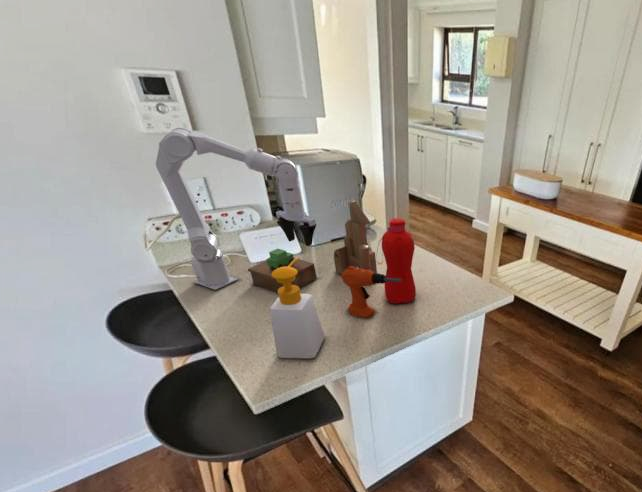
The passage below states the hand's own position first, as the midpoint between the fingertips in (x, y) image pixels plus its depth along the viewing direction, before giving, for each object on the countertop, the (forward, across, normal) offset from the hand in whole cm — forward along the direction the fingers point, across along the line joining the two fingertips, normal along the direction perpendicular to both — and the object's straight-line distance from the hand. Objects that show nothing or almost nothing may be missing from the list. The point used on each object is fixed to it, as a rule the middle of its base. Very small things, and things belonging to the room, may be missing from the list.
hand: (300, 242), depth 121 cm
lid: (+6, 0, +9) cm, 11 cm away
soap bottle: (+11, -30, +31) cm, 44 cm away
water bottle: (+11, -38, 0) cm, 39 cm away
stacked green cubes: (+5, 0, +9) cm, 10 cm away
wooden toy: (+11, -18, -6) cm, 21 cm away
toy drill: (+11, -38, +12) cm, 41 cm away
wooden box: (+10, 0, +9) cm, 14 cm away
